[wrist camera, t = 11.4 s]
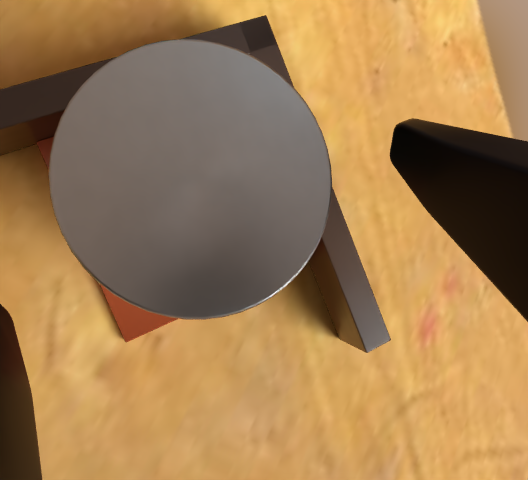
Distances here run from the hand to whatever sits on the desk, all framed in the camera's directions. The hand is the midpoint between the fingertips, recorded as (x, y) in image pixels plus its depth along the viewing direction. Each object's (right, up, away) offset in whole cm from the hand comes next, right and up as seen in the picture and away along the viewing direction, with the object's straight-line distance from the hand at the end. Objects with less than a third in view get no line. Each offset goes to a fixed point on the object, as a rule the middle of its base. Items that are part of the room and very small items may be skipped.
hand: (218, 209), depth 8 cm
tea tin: (-2, +1, +8) cm, 8 cm away
